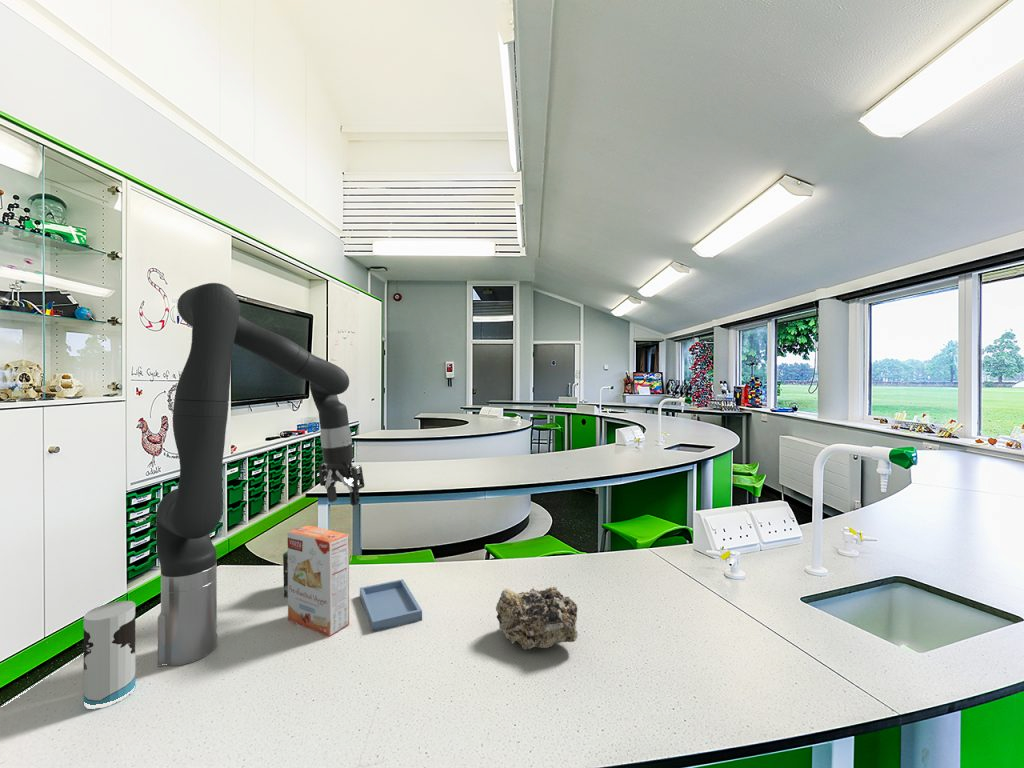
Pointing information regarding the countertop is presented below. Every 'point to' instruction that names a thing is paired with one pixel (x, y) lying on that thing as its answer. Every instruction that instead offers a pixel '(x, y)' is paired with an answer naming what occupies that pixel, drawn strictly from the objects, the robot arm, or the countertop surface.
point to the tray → (389, 605)
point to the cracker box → (318, 579)
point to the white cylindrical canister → (109, 652)
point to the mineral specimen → (537, 617)
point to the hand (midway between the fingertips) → (343, 502)
